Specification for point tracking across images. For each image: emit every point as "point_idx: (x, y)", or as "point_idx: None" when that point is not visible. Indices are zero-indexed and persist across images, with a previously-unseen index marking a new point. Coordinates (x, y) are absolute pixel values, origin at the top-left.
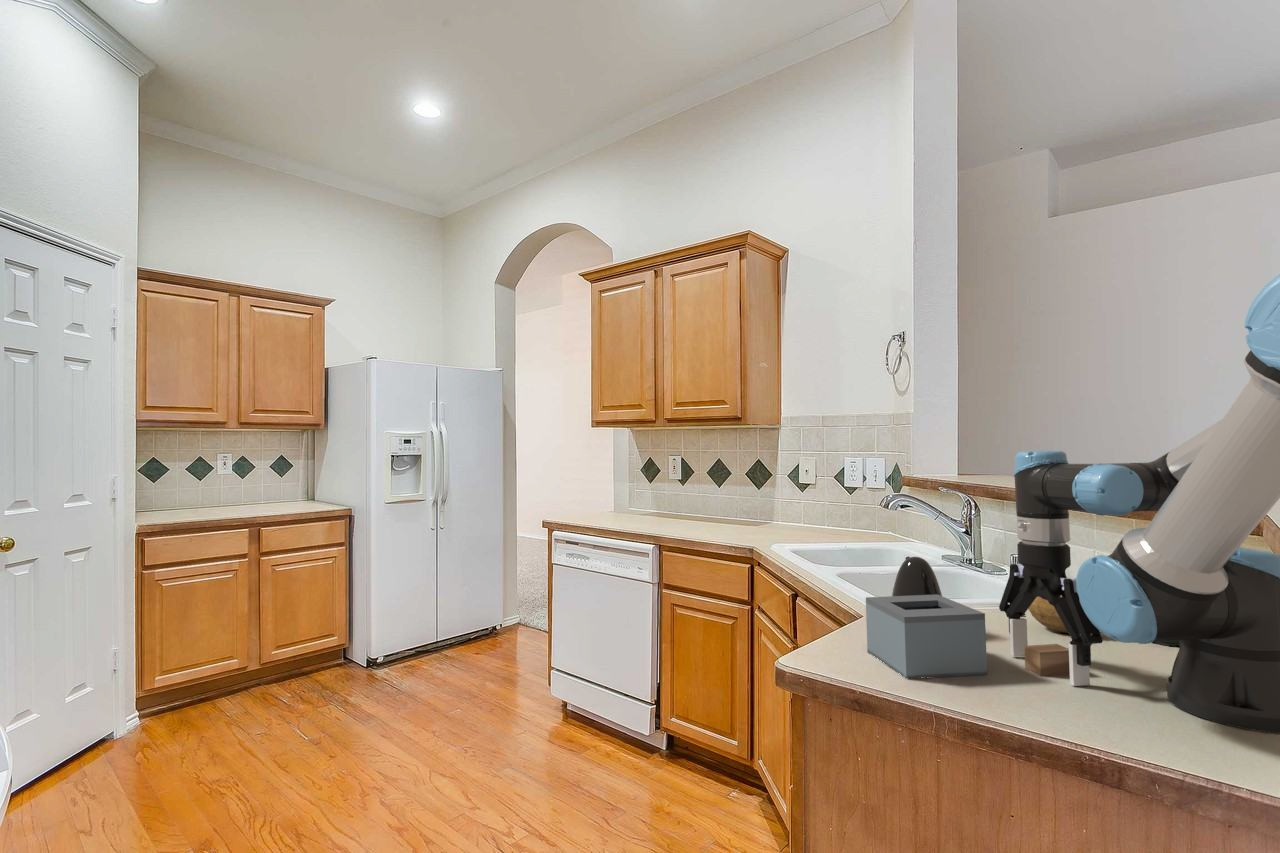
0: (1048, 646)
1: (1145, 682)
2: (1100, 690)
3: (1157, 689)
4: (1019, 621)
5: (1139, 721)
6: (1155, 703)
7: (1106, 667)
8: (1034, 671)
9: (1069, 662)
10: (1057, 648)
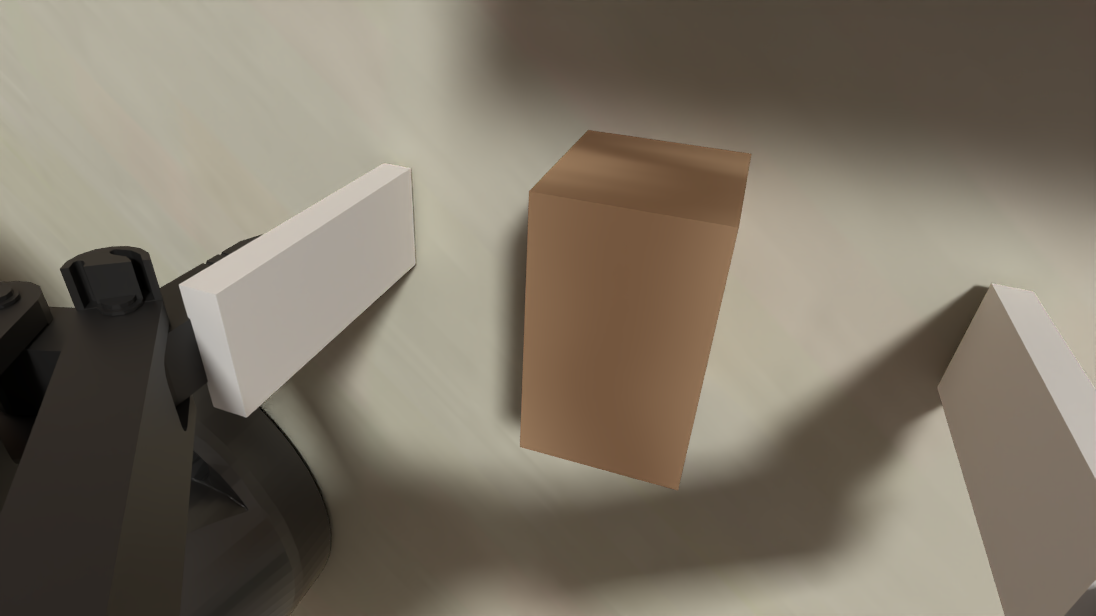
0: (643, 389)
1: (417, 496)
2: None
3: (345, 459)
4: (1060, 585)
5: (3, 60)
6: None
7: (609, 551)
8: (647, 144)
9: (324, 219)
10: (581, 400)
